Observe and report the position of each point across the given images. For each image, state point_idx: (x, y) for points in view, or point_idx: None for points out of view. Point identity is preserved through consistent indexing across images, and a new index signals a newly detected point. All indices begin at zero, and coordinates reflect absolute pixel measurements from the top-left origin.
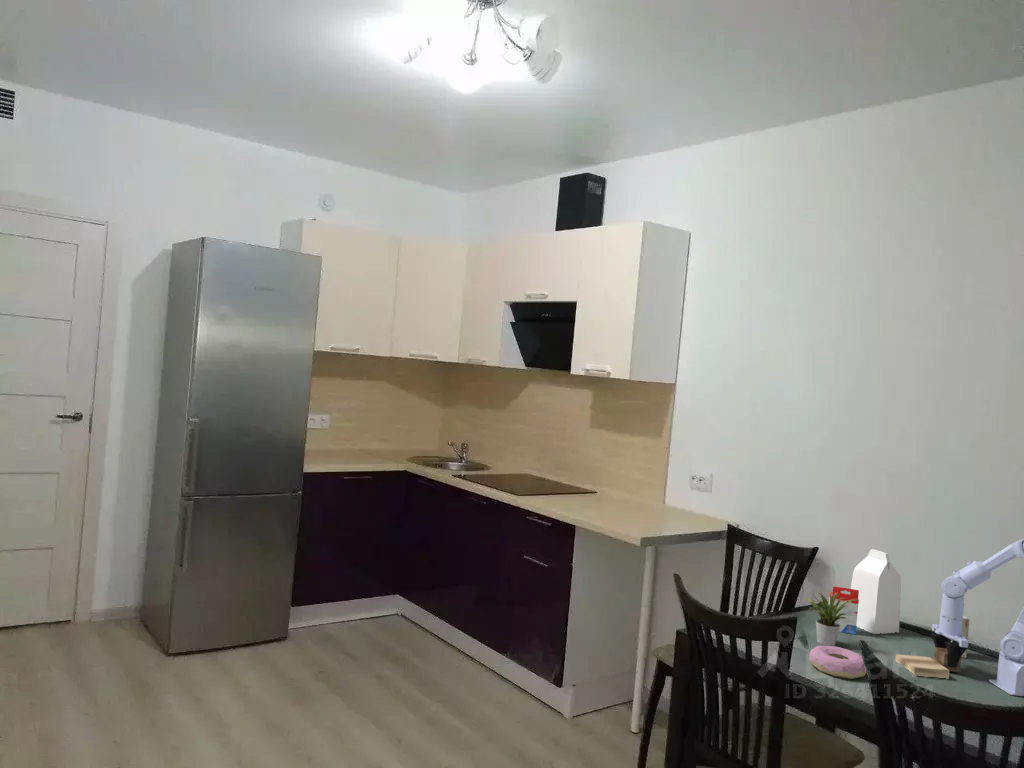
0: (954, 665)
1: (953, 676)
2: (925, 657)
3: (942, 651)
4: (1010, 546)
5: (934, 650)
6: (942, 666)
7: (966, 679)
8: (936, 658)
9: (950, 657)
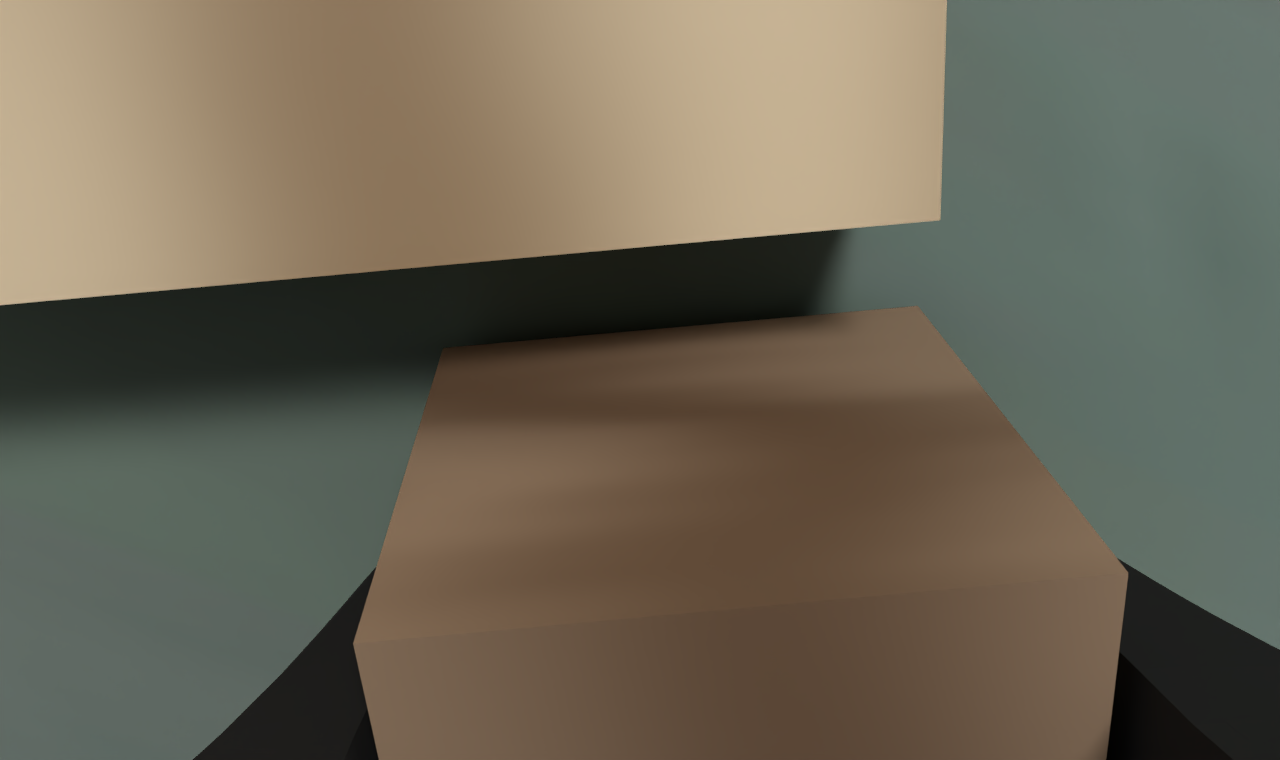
0: None
1: (227, 473)
2: (852, 28)
3: (623, 668)
4: None
5: (1058, 500)
6: (42, 252)
7: (157, 684)
8: (823, 406)
9: (243, 727)
